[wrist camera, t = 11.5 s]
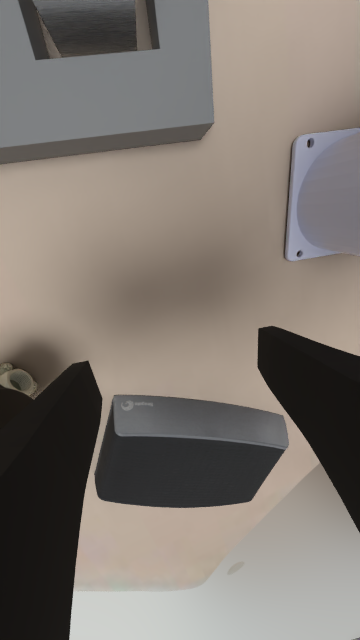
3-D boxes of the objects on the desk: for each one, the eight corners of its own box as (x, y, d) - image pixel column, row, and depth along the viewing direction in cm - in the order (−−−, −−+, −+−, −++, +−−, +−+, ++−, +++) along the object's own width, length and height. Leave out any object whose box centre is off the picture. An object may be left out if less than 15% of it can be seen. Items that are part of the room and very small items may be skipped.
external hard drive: (115, 384, 22) (110, 419, 18) (284, 407, 27) (306, 438, 23) (94, 472, 27) (86, 514, 23) (240, 478, 32) (253, 513, 28)
